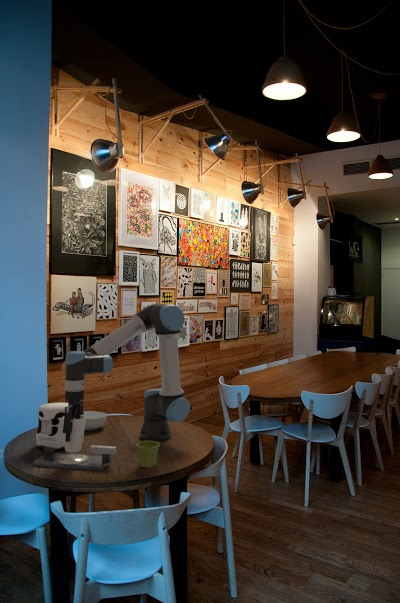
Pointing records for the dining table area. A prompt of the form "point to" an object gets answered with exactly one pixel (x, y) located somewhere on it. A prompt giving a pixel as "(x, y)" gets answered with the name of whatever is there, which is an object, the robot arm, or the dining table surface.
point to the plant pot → (148, 453)
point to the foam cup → (76, 433)
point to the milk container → (51, 422)
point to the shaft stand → (74, 457)
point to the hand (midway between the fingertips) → (73, 445)
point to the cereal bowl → (94, 419)
